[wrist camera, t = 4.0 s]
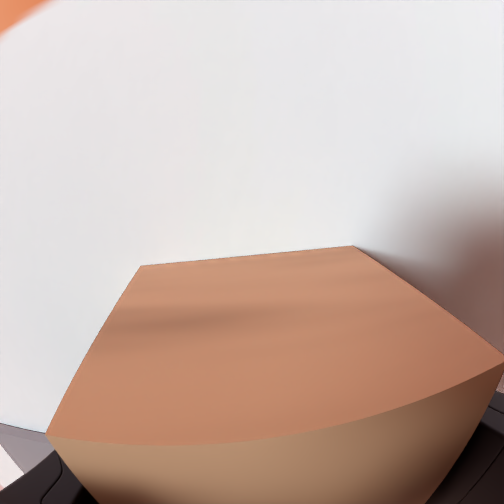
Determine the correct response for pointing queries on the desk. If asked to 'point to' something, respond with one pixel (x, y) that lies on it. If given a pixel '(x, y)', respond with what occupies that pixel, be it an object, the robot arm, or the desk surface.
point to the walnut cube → (274, 386)
